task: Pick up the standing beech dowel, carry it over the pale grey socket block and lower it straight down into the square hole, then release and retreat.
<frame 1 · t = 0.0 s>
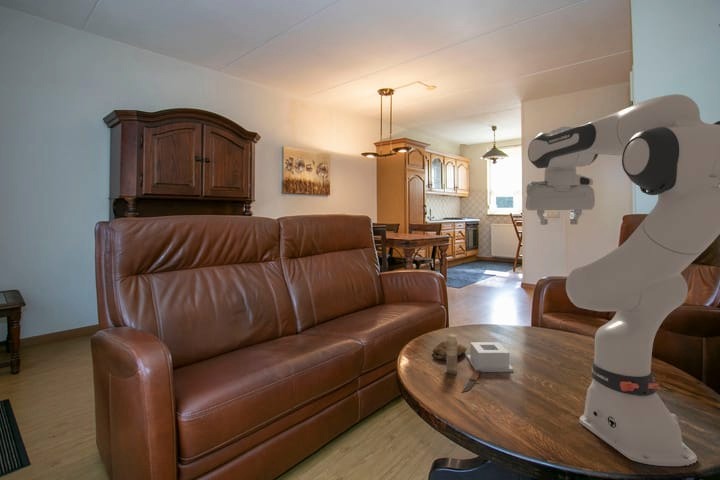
hand: (558, 224, 116), 48 cm above the table, fingers open, 8 cm apart
socket: (488, 364, 125), on the table
peg: (451, 371, 120), on the table
knife: (473, 384, 112), on the table
decorative rock: (448, 356, 134), on the table
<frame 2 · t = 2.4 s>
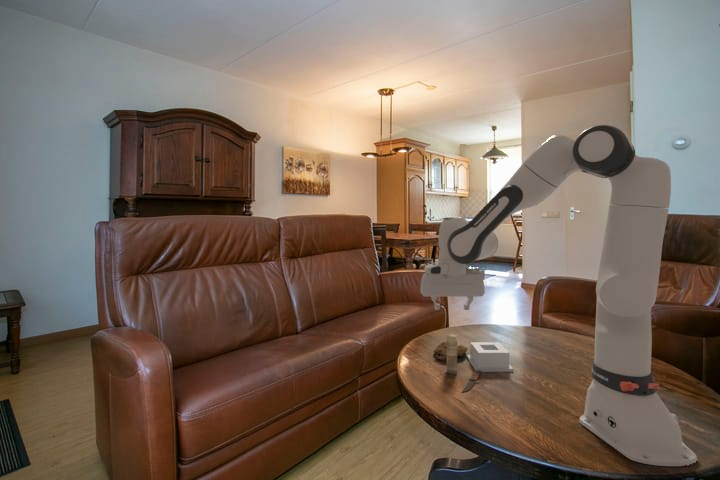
hand: (451, 309, 118), 21 cm above the table, fingers open, 8 cm apart
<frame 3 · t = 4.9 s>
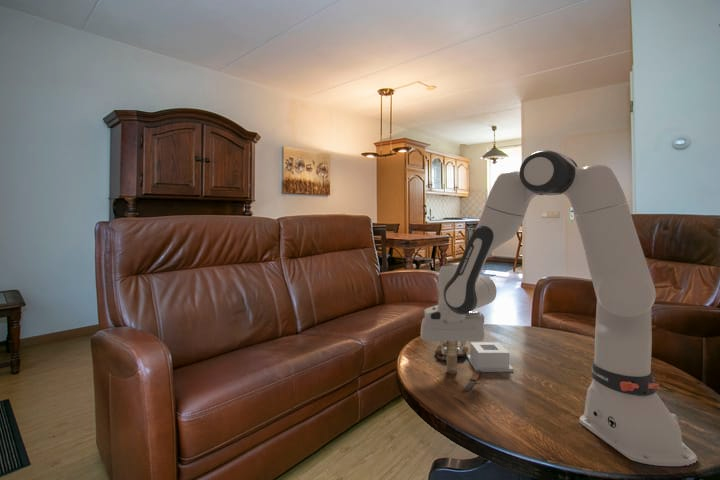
hand: (451, 353, 119), 6 cm above the table, fingers closed on peg, 3 cm apart
peg: (451, 371, 120), on the table, touching gripper
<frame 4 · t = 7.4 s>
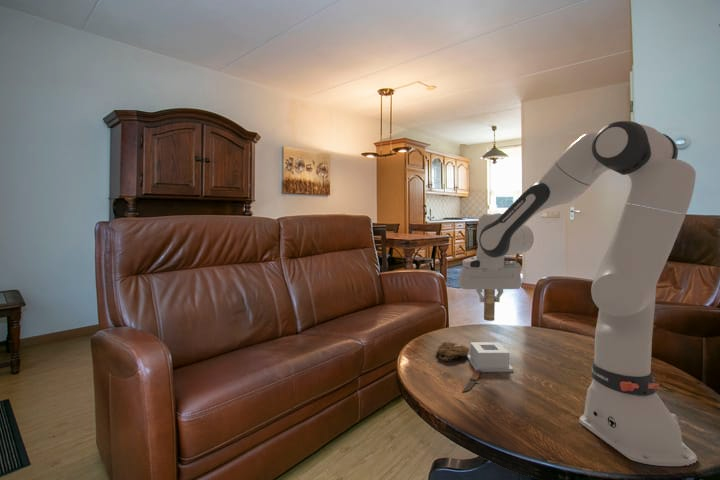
hand: (489, 301, 124), 22 cm above the table, fingers closed on peg, 3 cm apart
peg: (489, 319, 124), point 16 cm above the table, touching gripper
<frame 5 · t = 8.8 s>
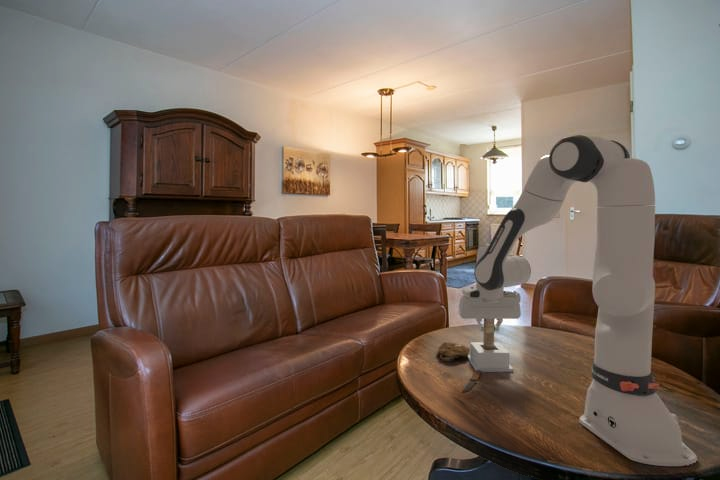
hand: (488, 330, 125), 12 cm above the table, fingers closed on peg, 3 cm apart
peg: (488, 348, 125), point 6 cm above the table, touching gripper
when the fingers open (9 cm above the table, at t = 10.0 s): peg drops 1 cm, resting on socket.
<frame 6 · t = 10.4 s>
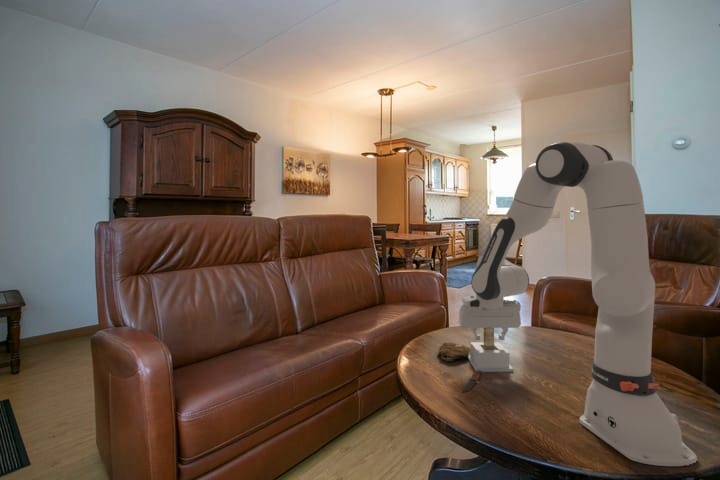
hand: (489, 339, 125), 9 cm above the table, fingers open, 7 cm apart
peg: (489, 361, 125), point 1 cm above the table, touching socket
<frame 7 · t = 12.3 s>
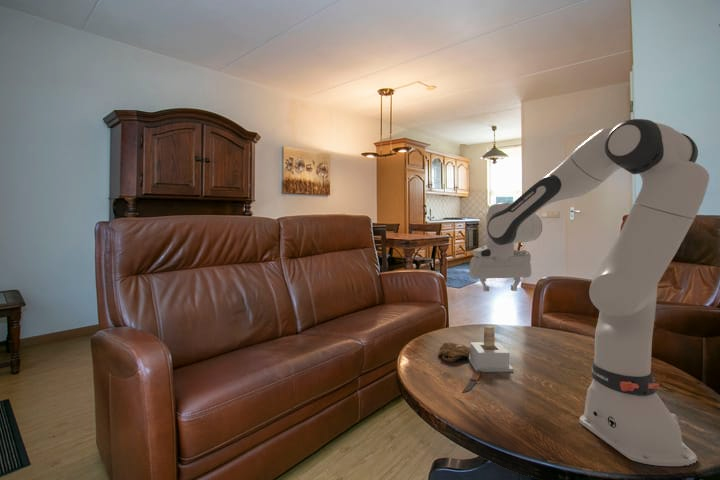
hand: (500, 290, 125), 25 cm above the table, fingers open, 8 cm apart
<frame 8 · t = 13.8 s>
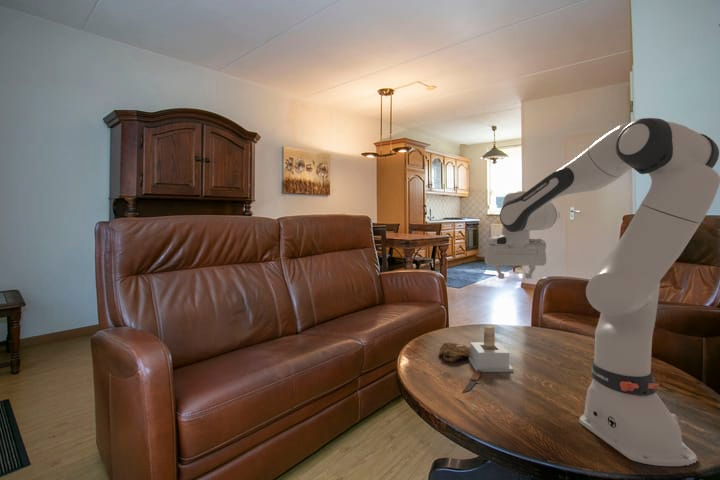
hand: (514, 278, 127), 29 cm above the table, fingers open, 8 cm apart
at the end: peg 0.0 cm off-centre on the socket, point 1.0 cm above the socket's base; peg tilted 0°; the gripper is holding nothing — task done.
